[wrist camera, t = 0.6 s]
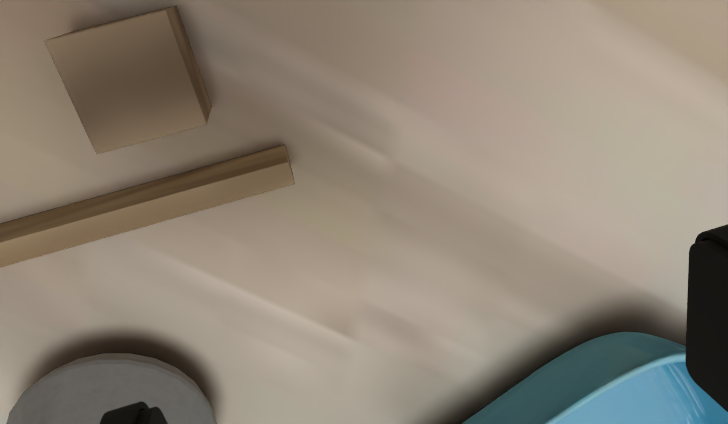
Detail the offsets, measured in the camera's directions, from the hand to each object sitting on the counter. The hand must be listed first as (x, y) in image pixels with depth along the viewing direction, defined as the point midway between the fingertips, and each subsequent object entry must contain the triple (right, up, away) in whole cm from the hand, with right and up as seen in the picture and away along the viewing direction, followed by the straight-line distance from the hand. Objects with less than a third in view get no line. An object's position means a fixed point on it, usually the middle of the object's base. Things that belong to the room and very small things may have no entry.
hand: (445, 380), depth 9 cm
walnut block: (-12, +10, +18) cm, 24 cm away
